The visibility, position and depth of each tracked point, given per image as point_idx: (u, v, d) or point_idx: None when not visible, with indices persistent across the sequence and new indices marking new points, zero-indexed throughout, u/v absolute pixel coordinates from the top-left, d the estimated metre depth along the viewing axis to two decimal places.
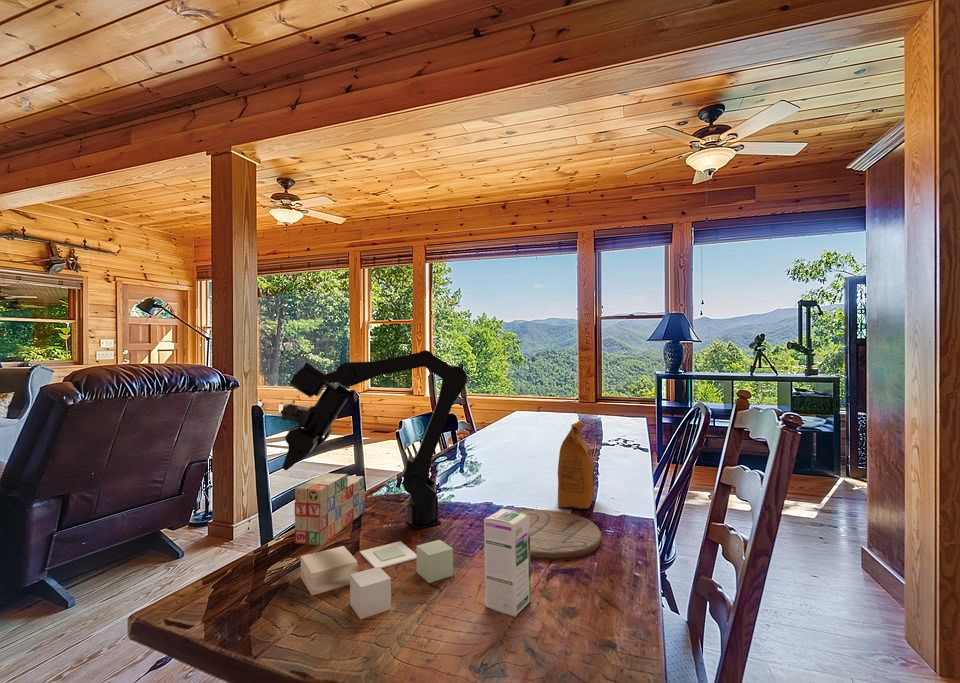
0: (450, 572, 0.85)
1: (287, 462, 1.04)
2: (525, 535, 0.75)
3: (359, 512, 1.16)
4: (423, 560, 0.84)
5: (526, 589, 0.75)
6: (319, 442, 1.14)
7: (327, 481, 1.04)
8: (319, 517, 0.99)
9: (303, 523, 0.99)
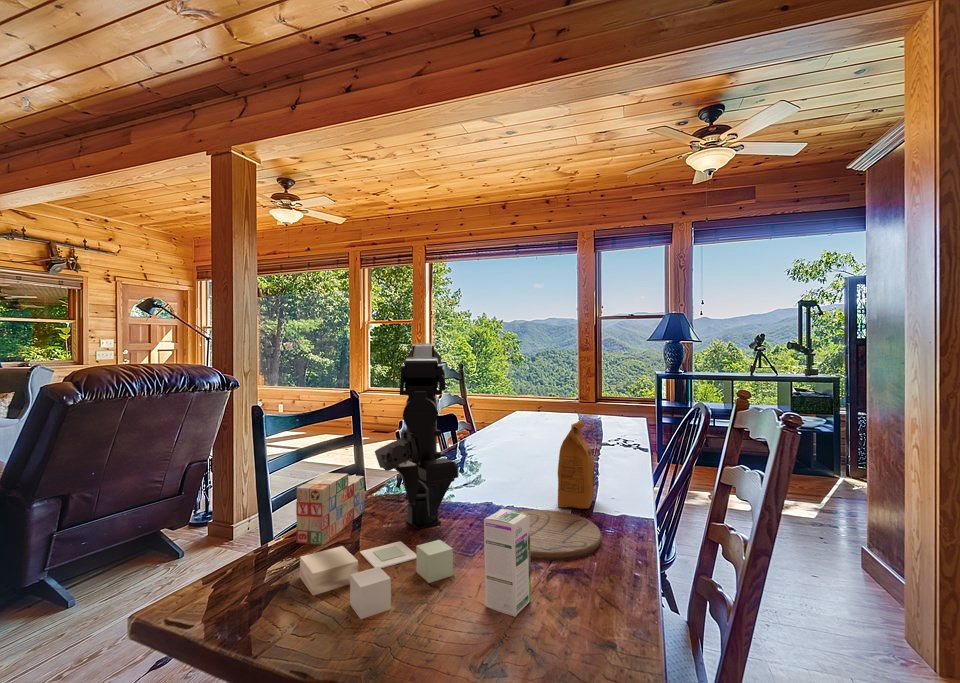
0: (450, 572, 0.85)
1: (432, 507, 0.81)
2: (525, 535, 0.75)
3: (359, 512, 1.17)
4: (423, 560, 0.84)
5: (526, 589, 0.75)
6: None
7: (328, 481, 1.04)
8: (321, 517, 0.99)
9: (305, 522, 0.99)
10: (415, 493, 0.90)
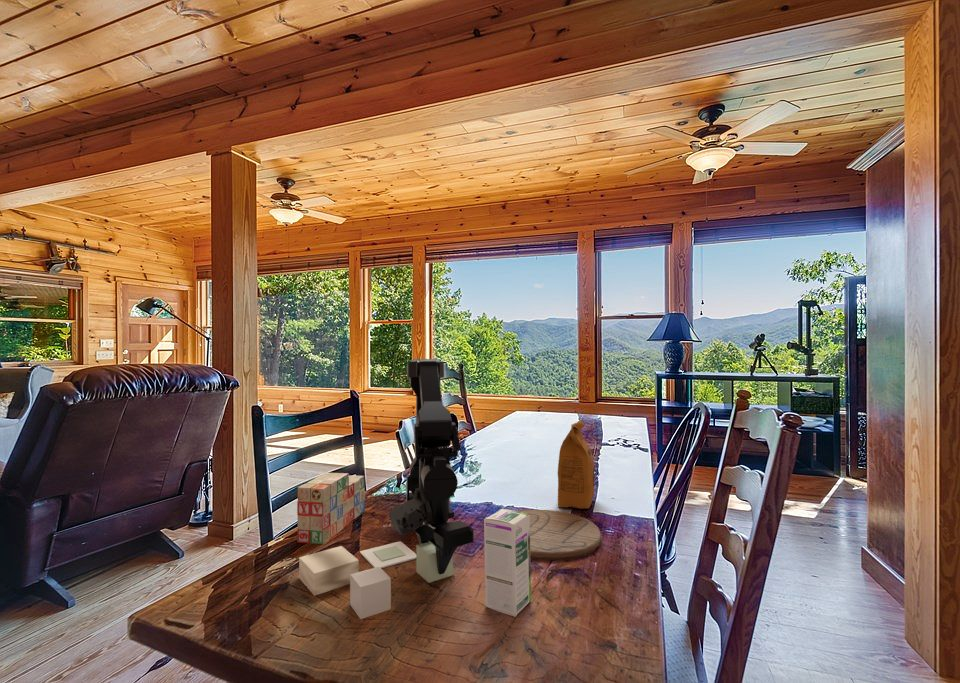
0: (450, 571, 0.85)
1: (441, 565, 0.83)
2: (525, 535, 0.75)
3: (359, 511, 1.17)
4: (423, 559, 0.84)
5: (526, 589, 0.75)
6: None
7: (329, 480, 1.05)
8: (322, 516, 0.99)
9: (306, 522, 1.00)
10: None
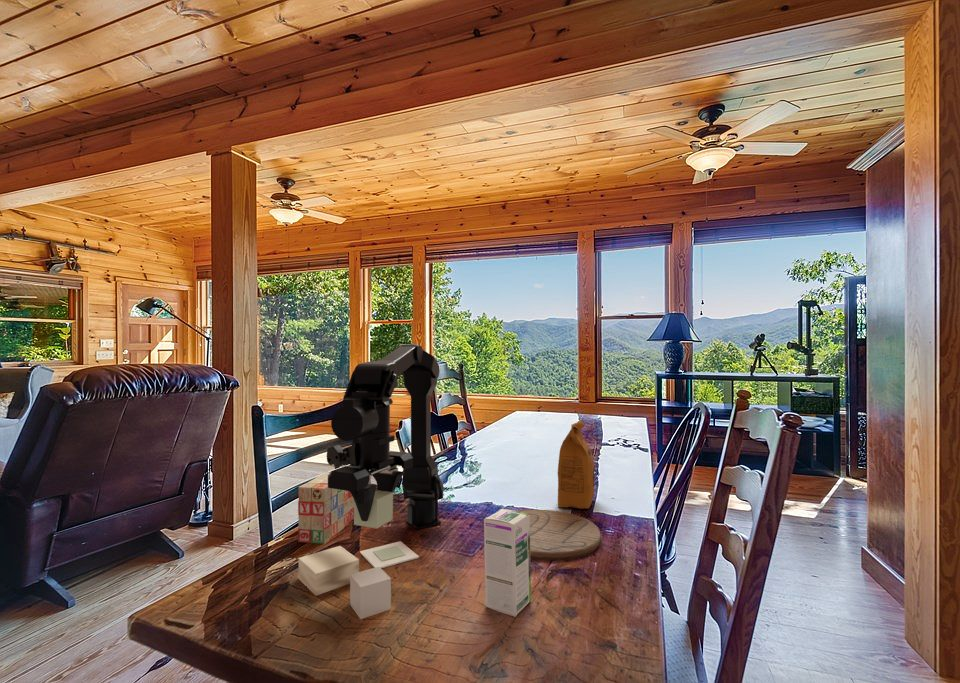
0: (374, 523, 0.81)
1: (361, 511, 0.82)
2: (525, 535, 0.75)
3: None
4: None
5: (526, 589, 0.75)
6: (393, 478, 0.87)
7: None
8: (323, 516, 0.99)
9: (307, 521, 1.00)
10: None
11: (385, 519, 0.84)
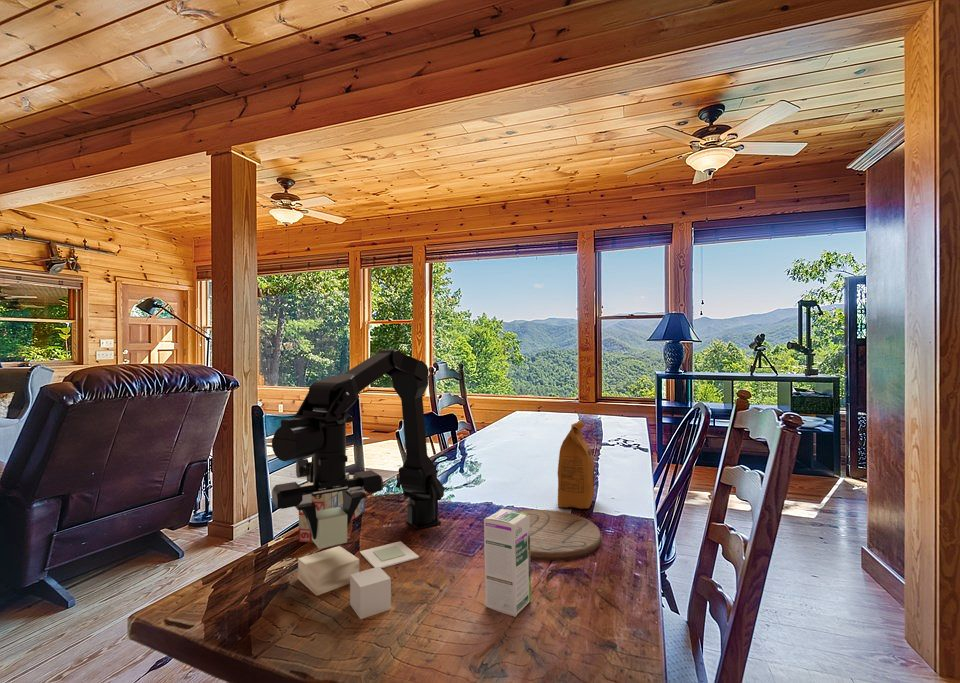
0: (318, 543, 0.81)
1: (310, 528, 0.82)
2: (525, 535, 0.75)
3: (360, 510, 1.17)
4: None
5: (526, 589, 0.75)
6: (350, 500, 0.84)
7: None
8: None
9: None
10: None
11: (334, 541, 0.82)
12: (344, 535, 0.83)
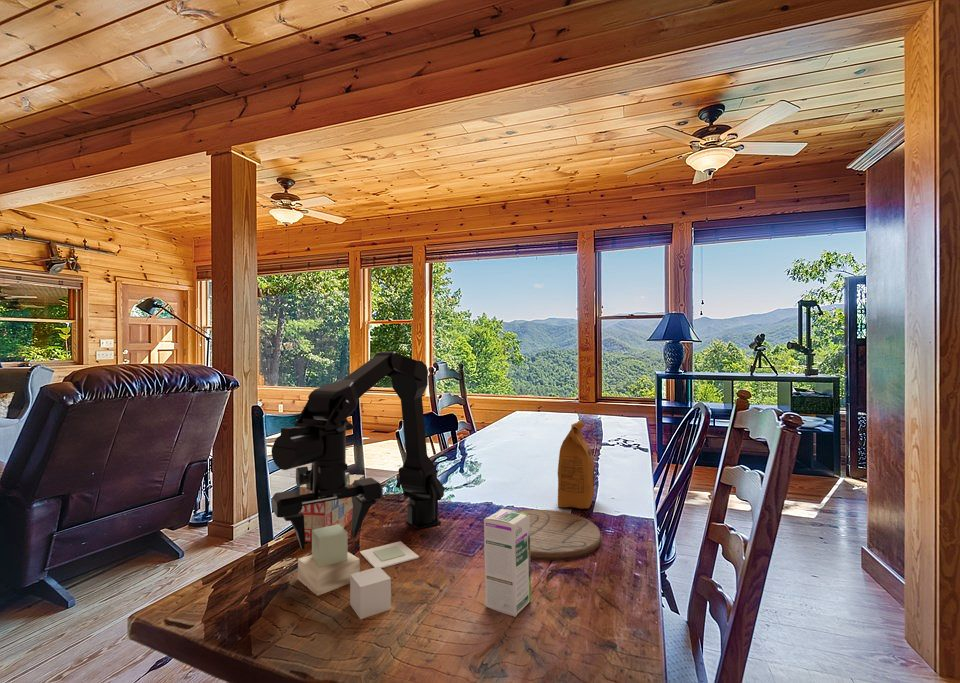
0: (318, 562, 0.81)
1: (299, 539, 0.81)
2: (525, 535, 0.75)
3: None
4: None
5: (526, 589, 0.75)
6: (360, 506, 0.85)
7: None
8: (324, 515, 1.00)
9: (308, 521, 1.00)
10: (354, 529, 0.86)
11: (334, 559, 0.82)
12: (344, 553, 0.83)
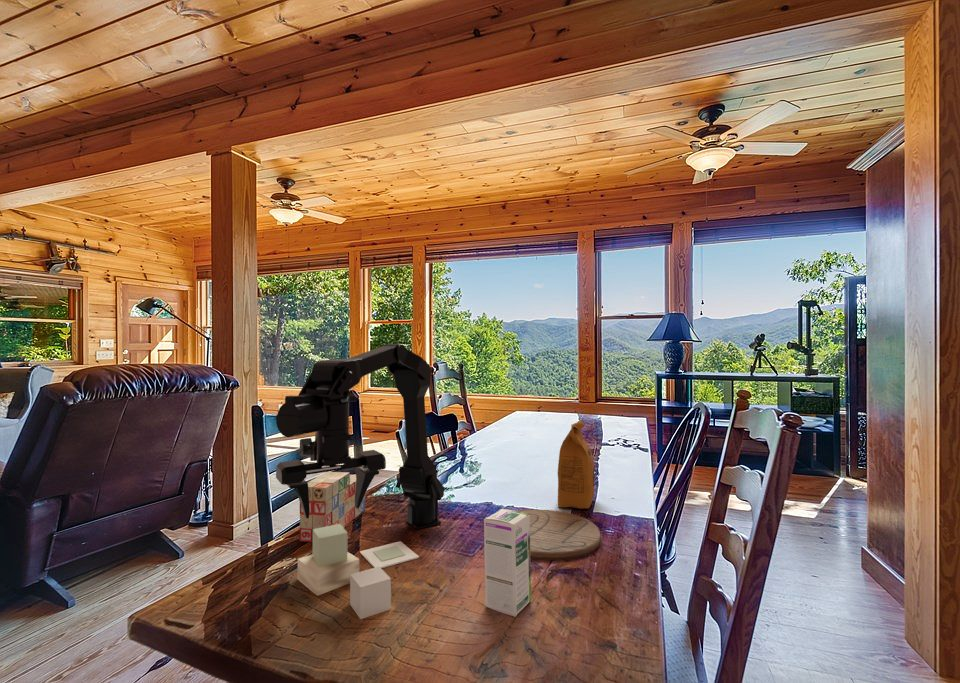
0: (318, 561, 0.81)
1: None
2: (525, 535, 0.75)
3: (360, 510, 1.18)
4: None
5: (526, 589, 0.75)
6: (363, 476, 0.86)
7: (331, 479, 1.05)
8: (324, 515, 1.00)
9: (308, 520, 1.00)
10: (357, 499, 0.87)
11: (334, 559, 0.82)
12: (344, 553, 0.83)
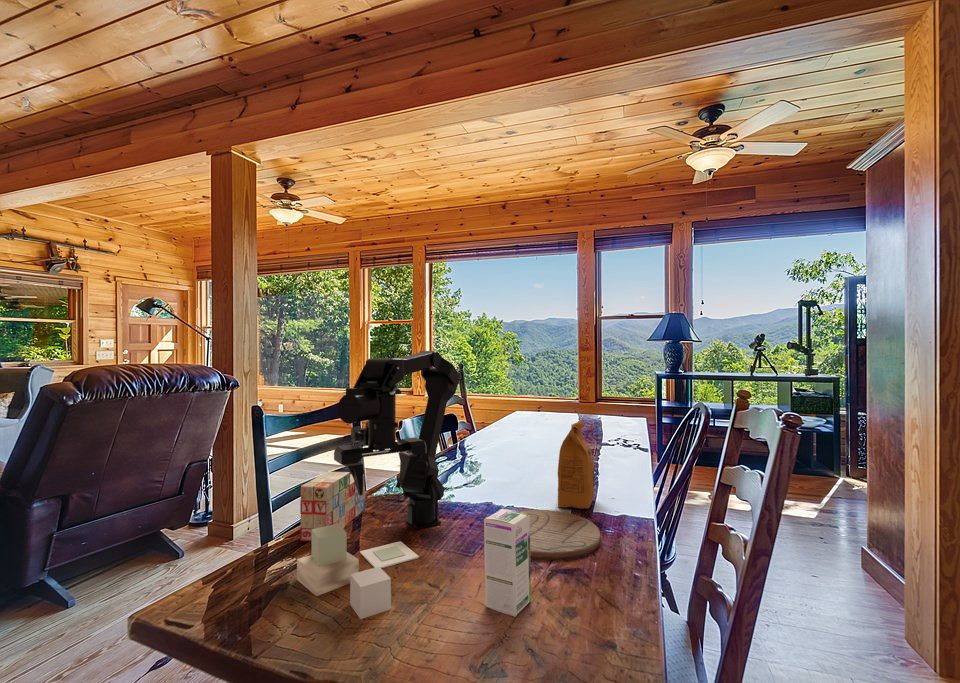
0: (317, 561, 0.81)
1: (357, 486, 0.94)
2: (525, 535, 0.75)
3: (360, 510, 1.18)
4: None
5: (526, 589, 0.75)
6: (408, 460, 0.98)
7: (331, 479, 1.06)
8: (325, 514, 1.00)
9: (309, 520, 1.01)
10: (402, 480, 0.99)
11: (333, 559, 0.82)
12: (343, 553, 0.83)
